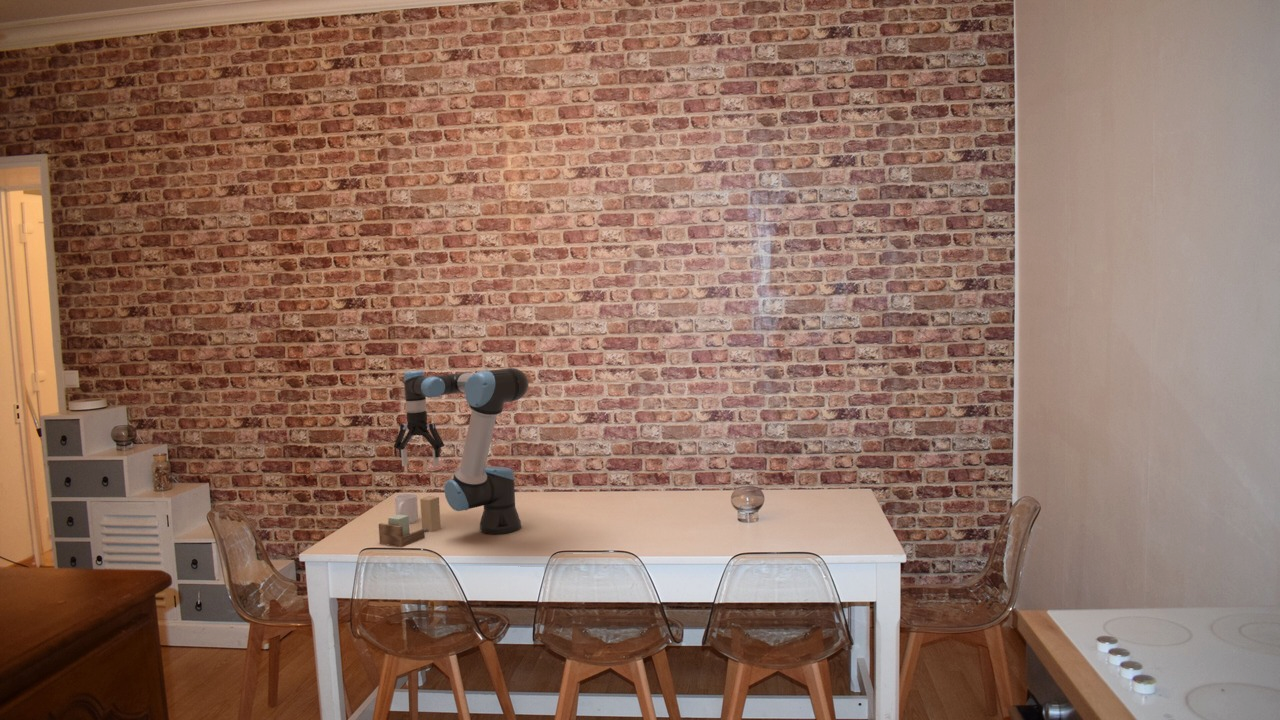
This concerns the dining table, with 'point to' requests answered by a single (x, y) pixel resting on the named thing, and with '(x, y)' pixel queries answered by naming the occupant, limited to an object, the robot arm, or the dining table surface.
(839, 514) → the dining table surface
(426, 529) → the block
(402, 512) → the cup
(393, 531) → the lane
